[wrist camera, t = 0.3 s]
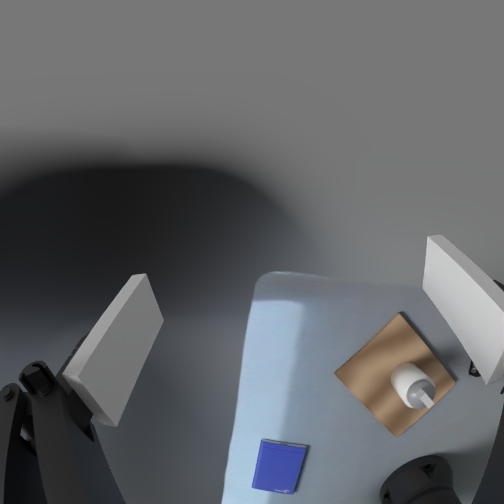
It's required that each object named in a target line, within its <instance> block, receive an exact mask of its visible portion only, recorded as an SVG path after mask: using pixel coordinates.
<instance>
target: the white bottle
mask: <svg viewBox="0 0 504 504" xmlns="http://www.w3.org/2000/svg"><path fill="white" fill-rule="evenodd" d="M391 384H392V386H393V387H394V389H395V390H396V392H397V393H398V394H399V396H400V397H401V399H402V400H403V401H404V403H405V404H406V405H407V406H408V407H410V408H415V409H423V408H425V407H428V409H429V408H430V407H431V406H432V405H433V404H434V402H433V399H434V397H435V384H434V382H433V380H432V379H431V378H430V377H429V376H427V375H426V374H425V373H424V372H423V371H421V370H420V369H419V368H418V367H417V366H415V365H414V364H413V363H410V362H405V363H402V364H400V365H398V366H397V367H396V368H395V369H394V370H393V372H392V374H391Z"/></svg>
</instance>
